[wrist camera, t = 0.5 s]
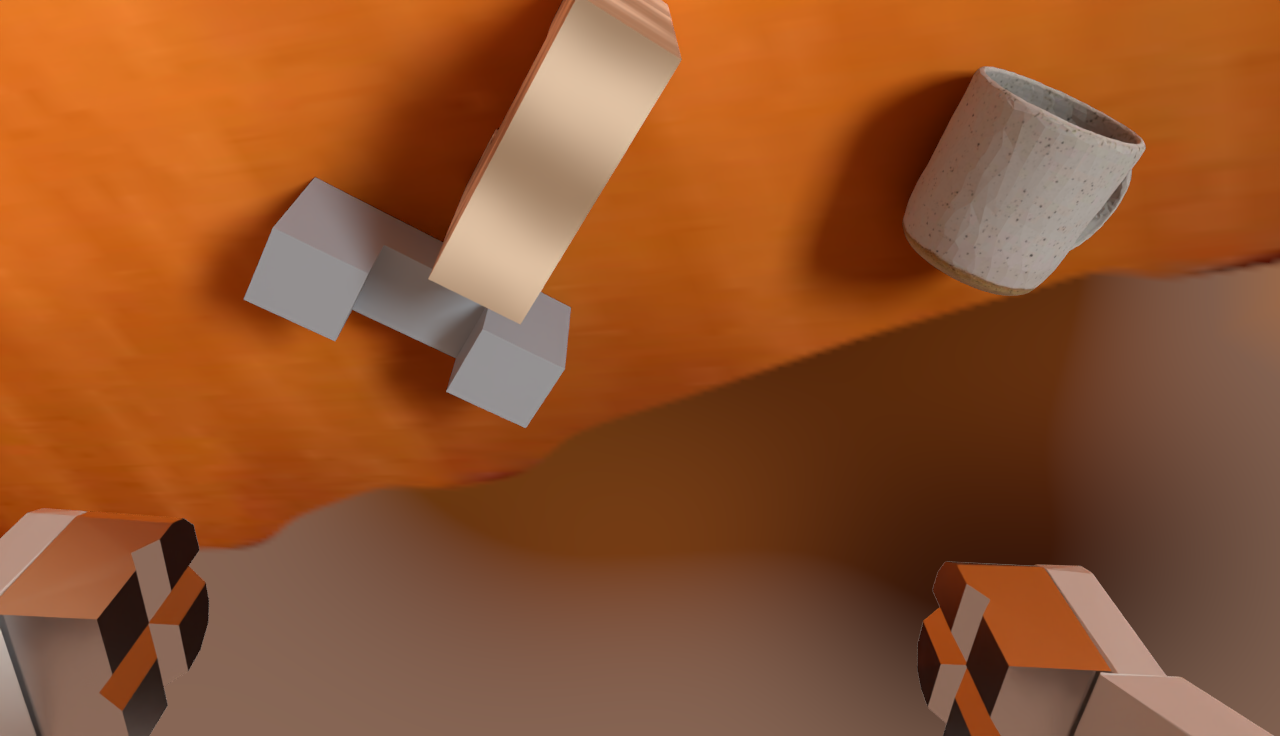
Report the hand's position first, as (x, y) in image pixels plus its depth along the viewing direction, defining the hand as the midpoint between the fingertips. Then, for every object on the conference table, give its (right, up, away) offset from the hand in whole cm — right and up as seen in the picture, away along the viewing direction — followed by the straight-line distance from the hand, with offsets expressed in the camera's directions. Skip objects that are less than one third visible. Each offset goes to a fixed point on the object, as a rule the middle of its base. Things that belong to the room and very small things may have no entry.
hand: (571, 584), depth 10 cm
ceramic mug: (+19, +13, +33) cm, 40 cm away
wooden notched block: (-3, +15, +30) cm, 34 cm away
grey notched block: (-10, +7, +35) cm, 37 cm away
